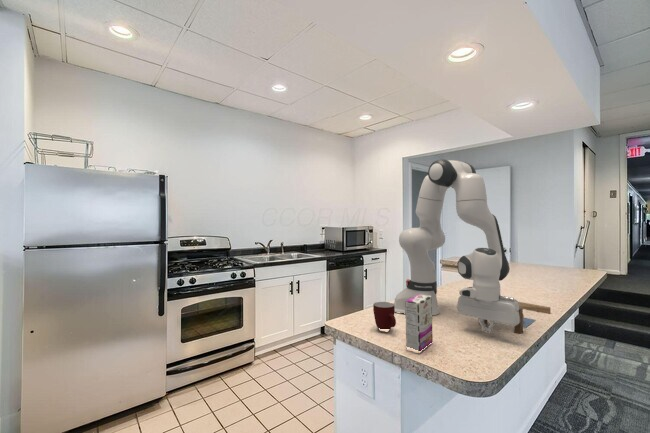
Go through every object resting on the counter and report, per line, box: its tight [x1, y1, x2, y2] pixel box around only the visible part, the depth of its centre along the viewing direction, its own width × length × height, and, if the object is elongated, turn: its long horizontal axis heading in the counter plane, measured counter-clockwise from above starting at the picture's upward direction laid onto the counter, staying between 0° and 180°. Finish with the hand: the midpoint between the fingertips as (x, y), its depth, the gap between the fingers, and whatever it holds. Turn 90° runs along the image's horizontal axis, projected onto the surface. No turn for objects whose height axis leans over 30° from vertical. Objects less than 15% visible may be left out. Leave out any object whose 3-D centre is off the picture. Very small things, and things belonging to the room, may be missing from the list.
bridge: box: [478, 307, 524, 335], centre depth 117 cm, size 3×14×9 cm, turn 41°
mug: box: [372, 301, 397, 330], centre depth 115 cm, size 10×8×10 cm
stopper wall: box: [518, 301, 551, 315], centre depth 141 cm, size 2×16×2 cm, turn 41°
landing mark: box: [523, 317, 536, 329], centre depth 126 cm, size 13×13×1 cm
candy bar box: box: [404, 294, 434, 351], centre depth 101 cm, size 11×5×16 cm, turn 139°
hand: (487, 331), depth 109 cm, fingers closed
